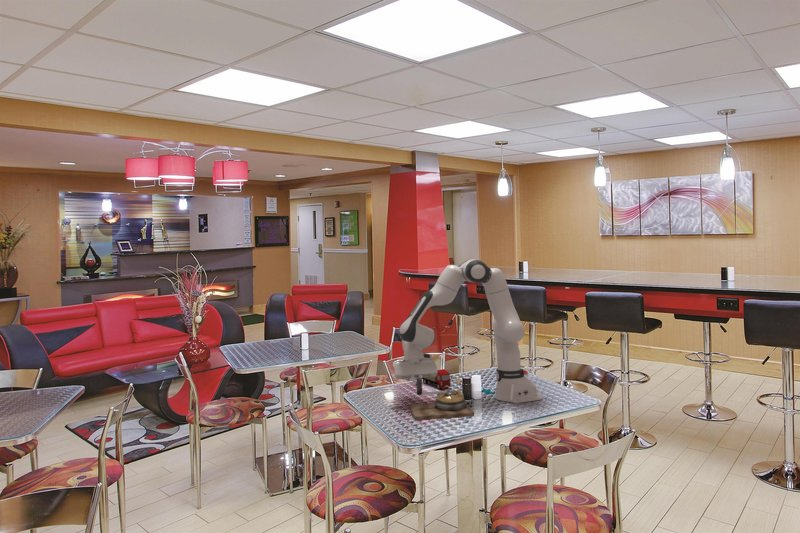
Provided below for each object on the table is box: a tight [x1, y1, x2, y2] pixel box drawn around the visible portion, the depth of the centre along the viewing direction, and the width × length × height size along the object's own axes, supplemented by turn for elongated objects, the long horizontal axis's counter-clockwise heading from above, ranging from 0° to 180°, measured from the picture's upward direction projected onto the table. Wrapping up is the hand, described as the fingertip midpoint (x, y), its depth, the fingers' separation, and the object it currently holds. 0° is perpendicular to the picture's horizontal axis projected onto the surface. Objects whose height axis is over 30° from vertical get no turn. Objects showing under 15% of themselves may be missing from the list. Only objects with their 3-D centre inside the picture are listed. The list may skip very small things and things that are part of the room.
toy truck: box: [422, 368, 453, 391], centre depth 280 cm, size 7×21×10 cm, turn 30°
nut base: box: [408, 398, 475, 421], centre depth 236 cm, size 26×18×4 cm
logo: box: [453, 378, 496, 395], centre depth 278 cm, size 34×1×10 cm
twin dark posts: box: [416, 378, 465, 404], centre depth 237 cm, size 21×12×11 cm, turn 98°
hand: (417, 385), depth 240 cm, fingers closed
